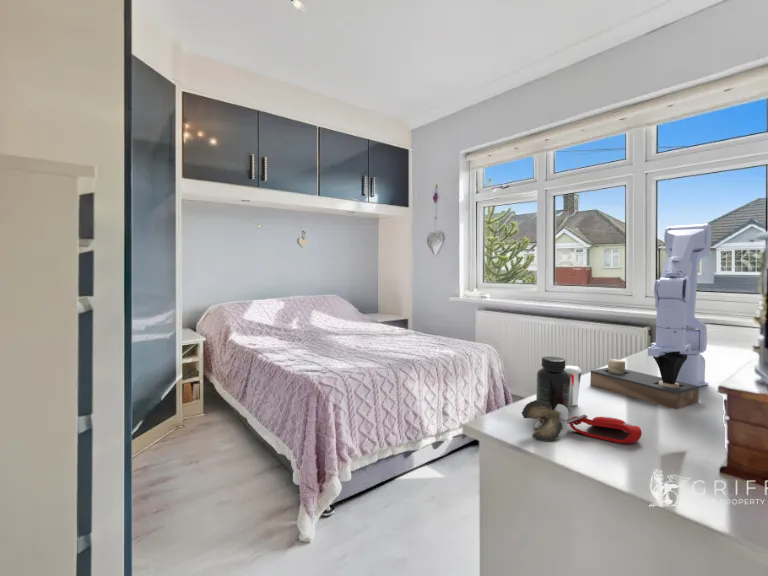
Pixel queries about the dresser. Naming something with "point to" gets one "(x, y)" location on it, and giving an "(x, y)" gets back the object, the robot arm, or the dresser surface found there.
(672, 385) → the peg
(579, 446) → the dresser surface
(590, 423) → the tracker holder
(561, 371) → the supplement bottle
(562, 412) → the eagle figurine
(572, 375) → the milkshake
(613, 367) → the peg
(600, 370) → the block
